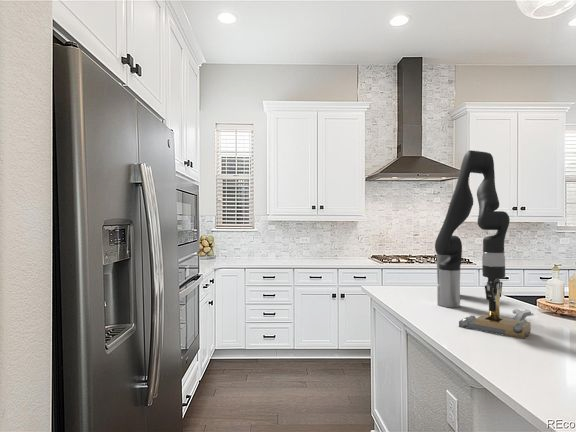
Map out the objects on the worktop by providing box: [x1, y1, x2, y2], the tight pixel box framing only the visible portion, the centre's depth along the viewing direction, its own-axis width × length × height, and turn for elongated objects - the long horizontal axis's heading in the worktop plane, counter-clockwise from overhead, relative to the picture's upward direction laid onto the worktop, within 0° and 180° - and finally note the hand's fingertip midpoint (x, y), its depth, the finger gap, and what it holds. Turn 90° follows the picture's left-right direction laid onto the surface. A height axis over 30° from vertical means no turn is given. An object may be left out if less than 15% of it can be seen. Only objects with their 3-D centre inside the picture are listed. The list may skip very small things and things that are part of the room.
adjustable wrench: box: [512, 308, 532, 320], centre depth 160 cm, size 25×6×2 cm, turn 137°
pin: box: [488, 289, 501, 320], centre depth 142 cm, size 3×3×11 cm
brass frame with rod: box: [458, 314, 532, 340], centre depth 142 cm, size 22×10×4 cm, turn 46°
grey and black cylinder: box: [436, 234, 454, 285], centre depth 206 cm, size 13×13×35 cm
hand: (494, 310), depth 142 cm, fingers closed on pin, 3 cm apart
